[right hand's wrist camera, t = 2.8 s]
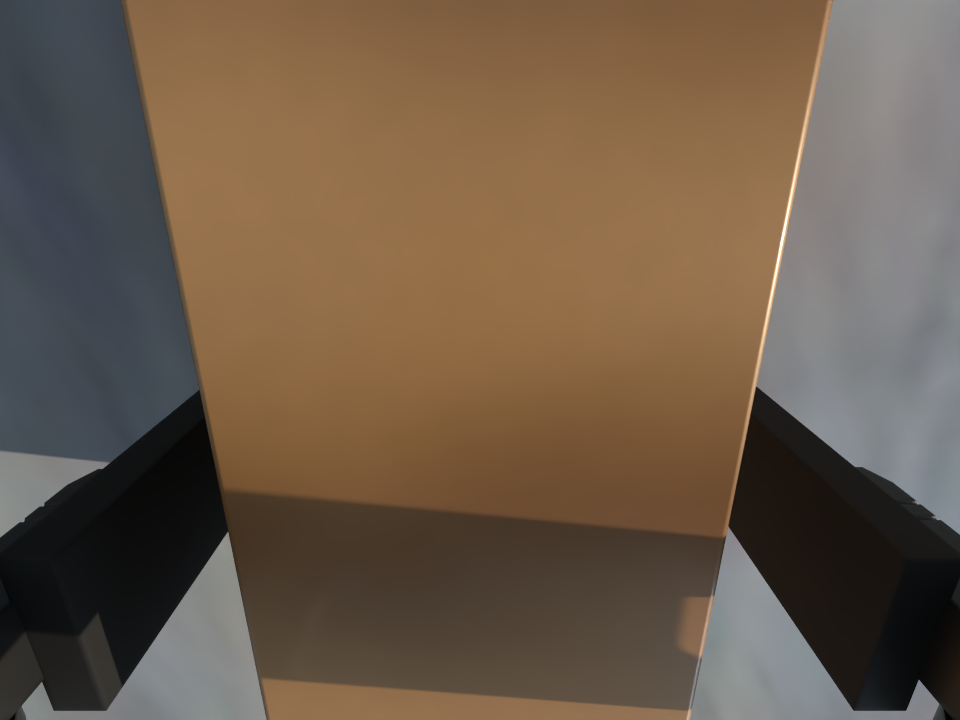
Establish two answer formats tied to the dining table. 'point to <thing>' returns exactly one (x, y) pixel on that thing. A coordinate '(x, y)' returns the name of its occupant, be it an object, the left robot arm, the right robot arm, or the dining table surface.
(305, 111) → the box
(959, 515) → the dining table surface
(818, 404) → the dining table surface
